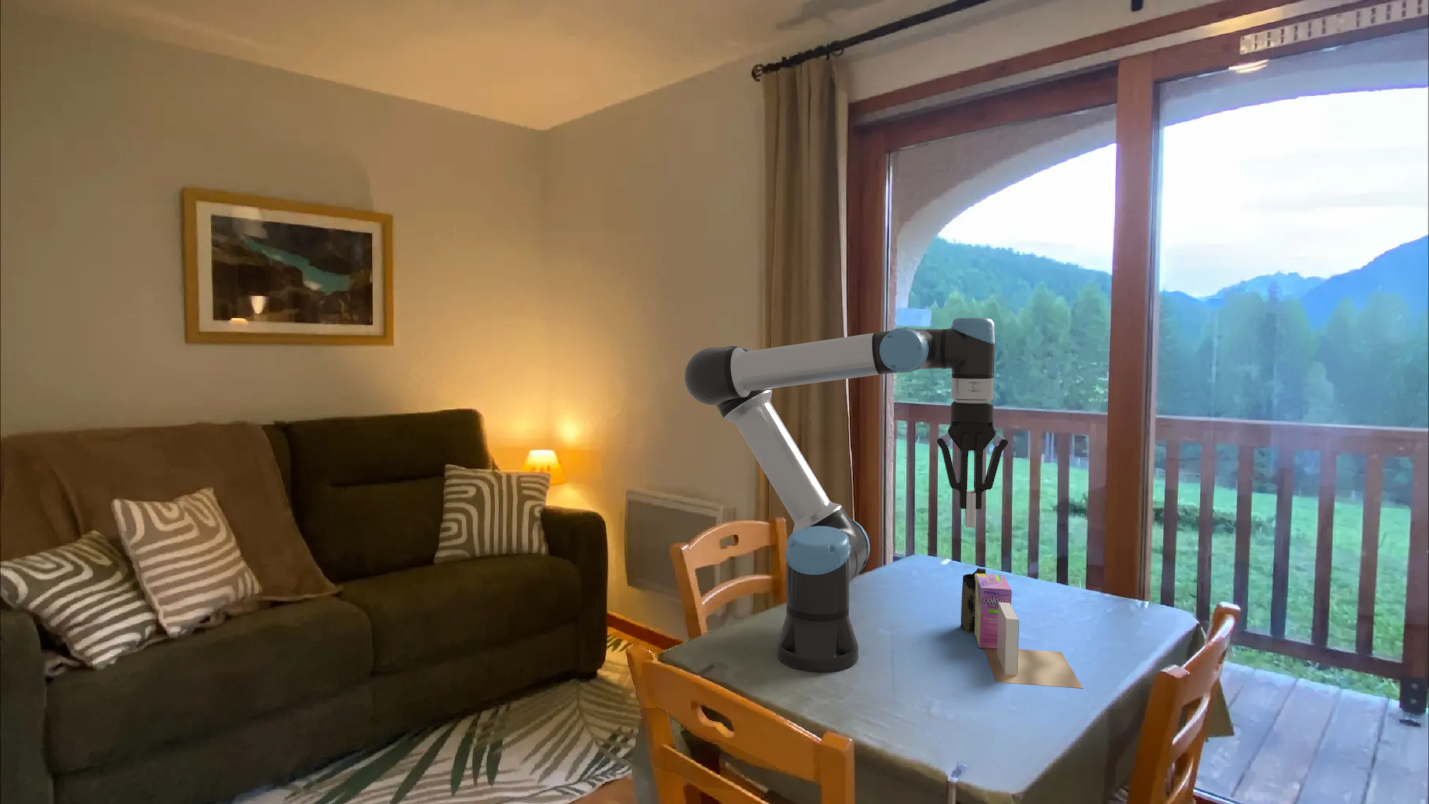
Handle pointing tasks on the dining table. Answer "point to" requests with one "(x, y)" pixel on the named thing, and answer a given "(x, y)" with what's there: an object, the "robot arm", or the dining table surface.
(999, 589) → the box
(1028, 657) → the mat
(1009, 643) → the tile
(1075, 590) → the dining table surface
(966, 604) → the mug
